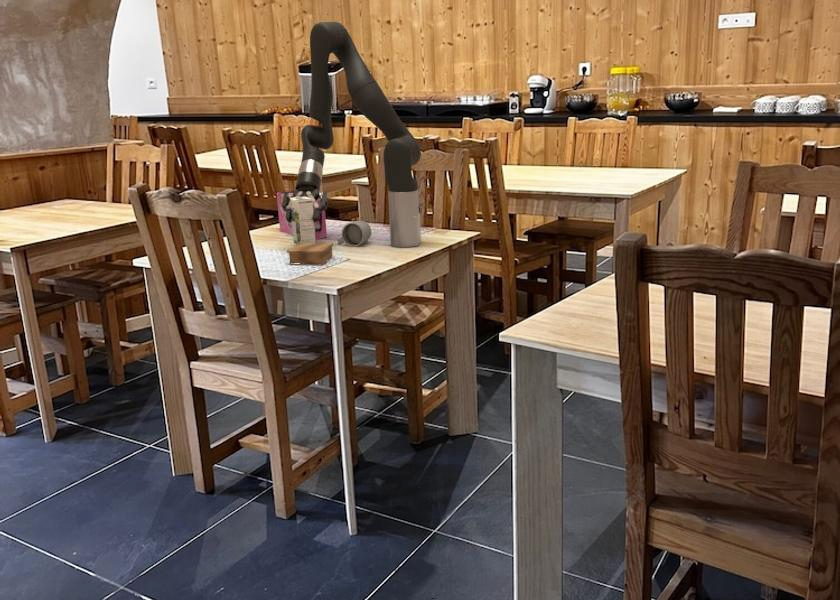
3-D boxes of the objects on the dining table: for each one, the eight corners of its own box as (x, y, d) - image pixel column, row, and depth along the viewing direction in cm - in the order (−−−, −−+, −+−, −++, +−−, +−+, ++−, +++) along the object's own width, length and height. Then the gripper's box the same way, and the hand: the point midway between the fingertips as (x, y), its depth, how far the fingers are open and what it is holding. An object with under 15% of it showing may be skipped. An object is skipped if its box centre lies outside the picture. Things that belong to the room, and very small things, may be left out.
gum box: (329, 238, 261) (327, 197, 257) (308, 241, 256) (305, 200, 253) (299, 227, 280) (296, 190, 276) (278, 230, 276) (275, 192, 272)
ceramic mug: (373, 241, 253) (372, 218, 251) (364, 247, 246) (362, 223, 244) (343, 241, 256) (341, 218, 254) (333, 246, 249) (331, 222, 247)
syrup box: (293, 244, 244) (288, 197, 240) (311, 241, 246) (307, 195, 242) (298, 247, 239) (293, 200, 235) (317, 244, 241) (312, 198, 237)
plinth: (334, 256, 235) (333, 243, 234) (324, 264, 225) (323, 251, 224) (299, 255, 237) (298, 242, 236) (288, 264, 227) (287, 251, 225)
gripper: (284, 171, 245) (275, 214, 237) (328, 169, 242) (320, 213, 235) (291, 185, 251) (282, 228, 244) (334, 184, 249) (327, 227, 241)
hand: (301, 221), depth 239 cm, fingers closed on syrup box, 7 cm apart
